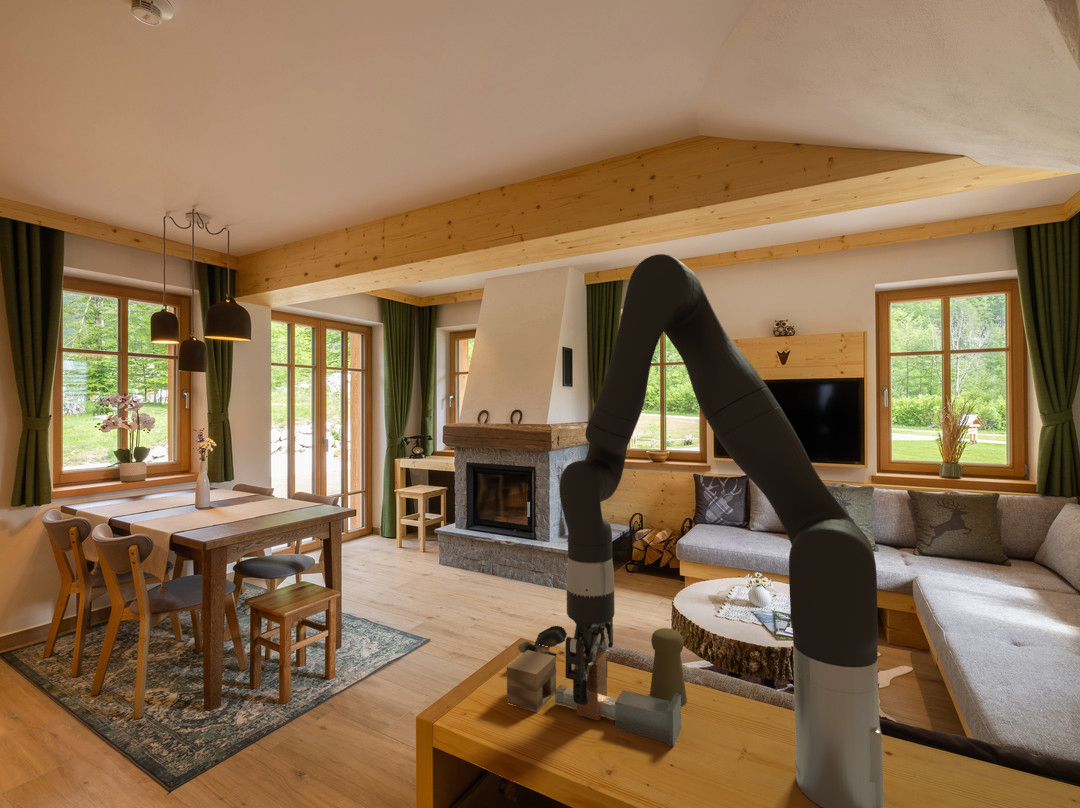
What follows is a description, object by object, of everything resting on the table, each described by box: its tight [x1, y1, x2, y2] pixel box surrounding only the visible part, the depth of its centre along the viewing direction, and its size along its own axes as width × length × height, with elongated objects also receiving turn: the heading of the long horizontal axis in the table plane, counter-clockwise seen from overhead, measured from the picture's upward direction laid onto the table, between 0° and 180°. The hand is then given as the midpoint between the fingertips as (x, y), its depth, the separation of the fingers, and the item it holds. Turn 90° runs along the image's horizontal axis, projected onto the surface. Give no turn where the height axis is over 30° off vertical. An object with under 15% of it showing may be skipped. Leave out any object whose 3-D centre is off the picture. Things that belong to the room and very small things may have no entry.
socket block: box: [506, 650, 557, 713], centre depth 88 cm, size 6×7×6 cm
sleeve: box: [614, 689, 682, 748], centre depth 78 cm, size 9×5×5 cm, turn 62°
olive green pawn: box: [649, 627, 688, 708], centre depth 87 cm, size 6×6×11 cm
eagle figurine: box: [517, 625, 568, 655], centre depth 100 cm, size 8×7×9 cm
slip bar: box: [554, 649, 617, 721], centre depth 81 cm, size 18×4×9 cm, turn 62°
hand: (591, 690), depth 83 cm, fingers open, 7 cm apart
